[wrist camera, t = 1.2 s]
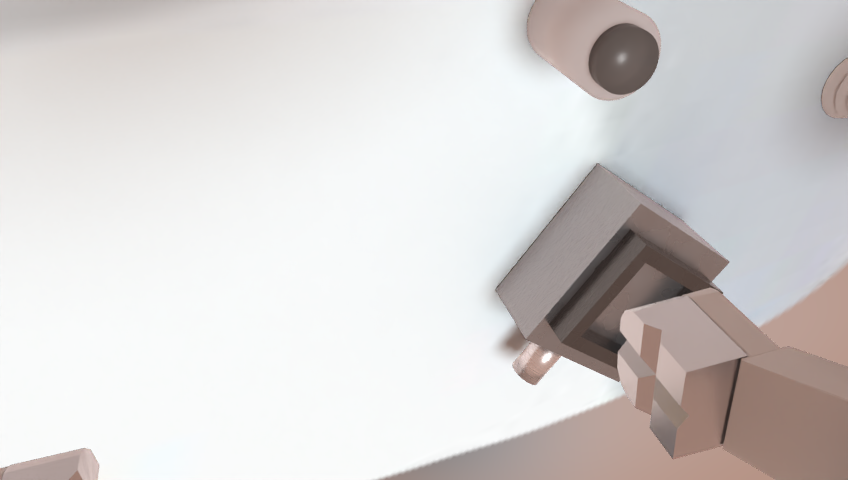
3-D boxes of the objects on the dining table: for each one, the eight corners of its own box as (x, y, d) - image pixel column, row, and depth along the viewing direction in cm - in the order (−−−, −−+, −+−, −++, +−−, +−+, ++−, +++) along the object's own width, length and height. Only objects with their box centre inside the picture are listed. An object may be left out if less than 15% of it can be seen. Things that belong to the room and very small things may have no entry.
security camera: (562, -37, 43) (629, -5, 36) (616, 9, 45) (688, 47, 39) (511, 34, 44) (566, 77, 38) (566, 75, 47) (627, 122, 40)
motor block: (597, 163, 51) (657, 218, 45) (682, 220, 56) (747, 277, 50) (464, 328, 56) (500, 400, 49) (553, 367, 61) (597, 437, 54)
